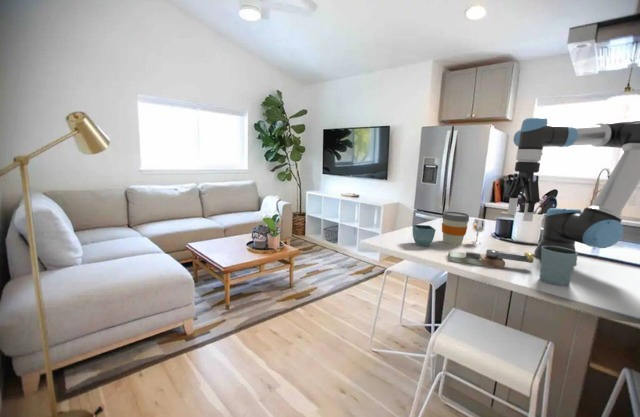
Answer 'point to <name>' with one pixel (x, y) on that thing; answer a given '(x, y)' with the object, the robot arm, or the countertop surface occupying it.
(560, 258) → the grey green cup
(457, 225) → the reusable coffee cup
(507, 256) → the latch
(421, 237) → the flower pot
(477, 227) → the wineglass
